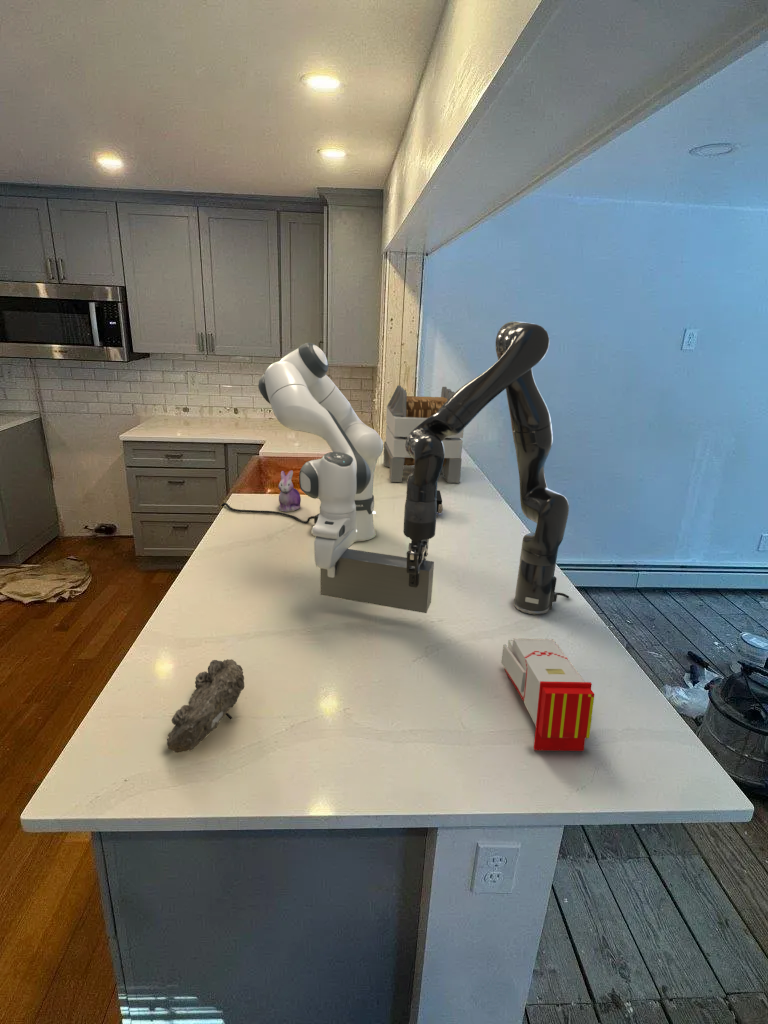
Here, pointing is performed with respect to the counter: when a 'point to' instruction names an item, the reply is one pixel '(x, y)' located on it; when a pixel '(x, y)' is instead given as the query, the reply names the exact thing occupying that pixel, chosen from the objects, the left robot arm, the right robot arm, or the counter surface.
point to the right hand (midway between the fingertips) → (416, 580)
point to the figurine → (288, 493)
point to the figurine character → (439, 503)
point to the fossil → (206, 705)
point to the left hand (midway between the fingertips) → (336, 570)
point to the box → (378, 581)
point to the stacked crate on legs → (405, 418)
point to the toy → (550, 693)
